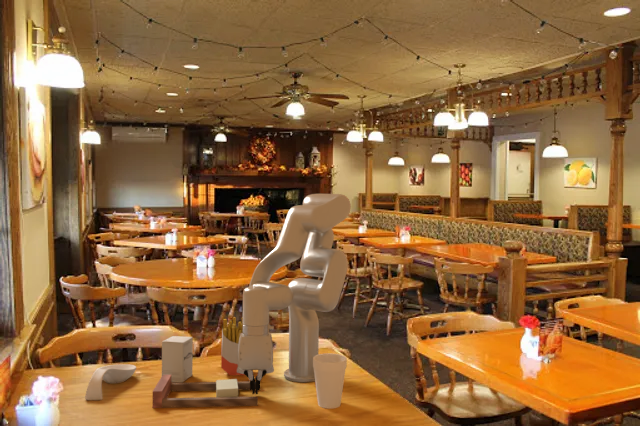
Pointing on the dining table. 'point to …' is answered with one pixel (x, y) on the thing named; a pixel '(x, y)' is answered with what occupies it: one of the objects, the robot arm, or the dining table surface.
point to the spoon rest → (107, 378)
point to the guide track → (166, 386)
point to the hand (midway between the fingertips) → (255, 392)
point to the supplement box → (177, 358)
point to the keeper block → (227, 388)
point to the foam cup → (329, 378)
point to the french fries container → (230, 346)
